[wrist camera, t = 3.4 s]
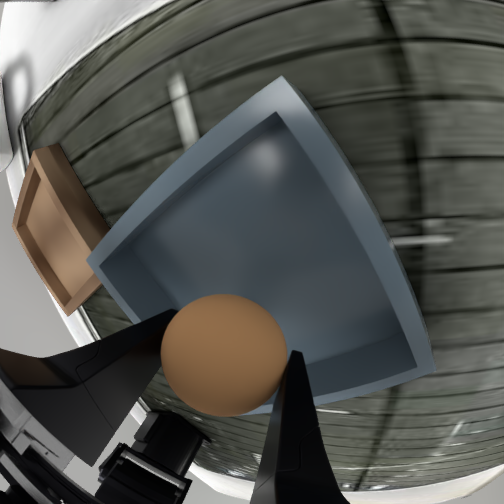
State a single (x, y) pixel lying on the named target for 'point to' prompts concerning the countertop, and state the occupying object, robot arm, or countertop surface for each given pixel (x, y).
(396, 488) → the countertop surface
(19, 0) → the supplement bottle
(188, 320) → the ball
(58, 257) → the tray
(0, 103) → the mug
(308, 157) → the dish
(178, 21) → the countertop surface
